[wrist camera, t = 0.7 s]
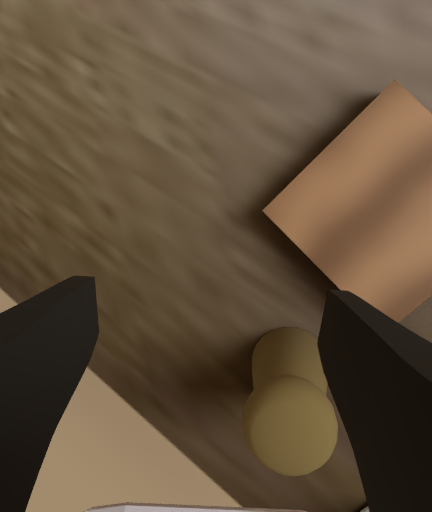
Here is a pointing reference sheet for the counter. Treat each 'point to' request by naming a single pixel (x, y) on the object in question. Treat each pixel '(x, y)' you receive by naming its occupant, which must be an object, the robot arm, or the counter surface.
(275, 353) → the olive rounded piece
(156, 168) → the counter surface
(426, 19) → the counter surface
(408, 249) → the tan flat block
